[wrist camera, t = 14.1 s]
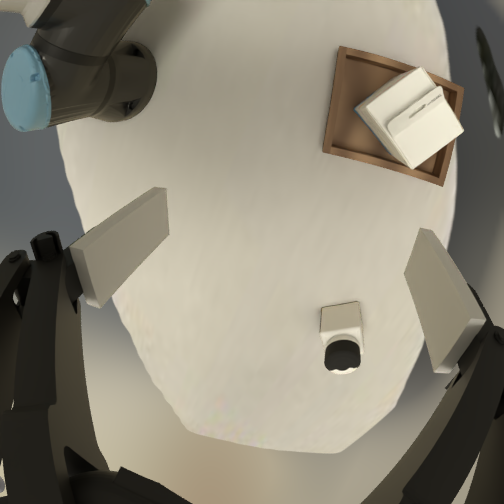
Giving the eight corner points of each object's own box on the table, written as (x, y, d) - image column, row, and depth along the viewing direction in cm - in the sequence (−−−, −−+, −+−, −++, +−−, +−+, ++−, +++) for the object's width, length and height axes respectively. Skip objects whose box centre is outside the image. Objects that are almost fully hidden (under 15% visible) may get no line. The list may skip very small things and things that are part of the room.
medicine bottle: (321, 307, 52) (316, 355, 42) (358, 300, 49) (362, 348, 39) (328, 333, 55) (324, 380, 45) (362, 328, 52) (365, 375, 42)
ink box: (388, 155, 35) (415, 177, 24) (351, 108, 34) (365, 108, 22) (431, 122, 31) (473, 133, 20) (395, 74, 30) (426, 62, 18)
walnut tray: (322, 148, 39) (322, 152, 35) (338, 51, 31) (339, 45, 27) (433, 179, 36) (442, 186, 32) (452, 88, 28) (464, 88, 25)
